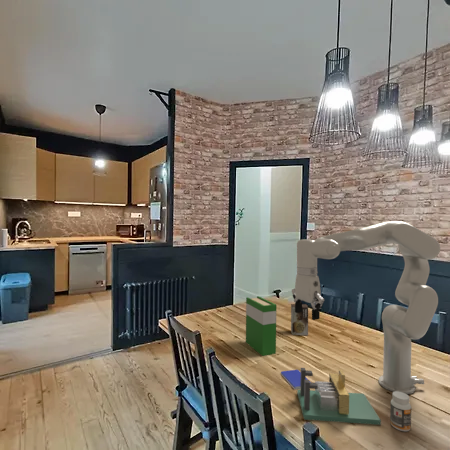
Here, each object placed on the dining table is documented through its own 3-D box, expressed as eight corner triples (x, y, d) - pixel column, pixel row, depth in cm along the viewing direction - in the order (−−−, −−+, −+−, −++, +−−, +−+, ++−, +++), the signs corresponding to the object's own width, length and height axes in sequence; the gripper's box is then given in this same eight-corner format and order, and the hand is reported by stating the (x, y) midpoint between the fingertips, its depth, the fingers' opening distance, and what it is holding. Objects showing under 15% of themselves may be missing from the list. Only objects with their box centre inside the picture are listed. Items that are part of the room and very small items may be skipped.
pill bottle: (408, 435, 93) (409, 402, 93) (387, 426, 97) (388, 395, 97) (412, 425, 97) (413, 395, 97) (392, 418, 101) (393, 388, 101)
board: (363, 397, 113) (364, 368, 112) (380, 424, 98) (381, 391, 97) (297, 393, 115) (297, 365, 115) (304, 419, 100) (304, 386, 100)
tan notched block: (337, 390, 113) (337, 362, 113) (349, 414, 99) (349, 382, 99) (328, 390, 114) (329, 362, 114) (339, 414, 100) (340, 382, 100)
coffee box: (306, 331, 179) (306, 304, 179) (308, 335, 173) (308, 307, 173) (290, 330, 180) (291, 303, 180) (291, 334, 174) (292, 306, 174)
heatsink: (337, 394, 111) (337, 380, 111) (345, 412, 102) (345, 395, 101) (314, 393, 112) (315, 378, 112) (320, 410, 102) (321, 394, 102)
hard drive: (313, 384, 120) (298, 369, 132) (294, 386, 118) (280, 371, 130) (313, 388, 120) (298, 372, 132) (294, 390, 118) (280, 375, 130)
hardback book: (245, 342, 162) (246, 297, 162) (257, 340, 165) (258, 296, 165) (262, 356, 146) (263, 306, 146) (275, 353, 149) (276, 304, 149)
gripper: (330, 274, 112) (330, 320, 112) (299, 267, 127) (299, 308, 128) (315, 276, 108) (314, 324, 109) (285, 269, 124) (285, 311, 124)
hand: (306, 315), depth 118 cm, fingers open, 9 cm apart
